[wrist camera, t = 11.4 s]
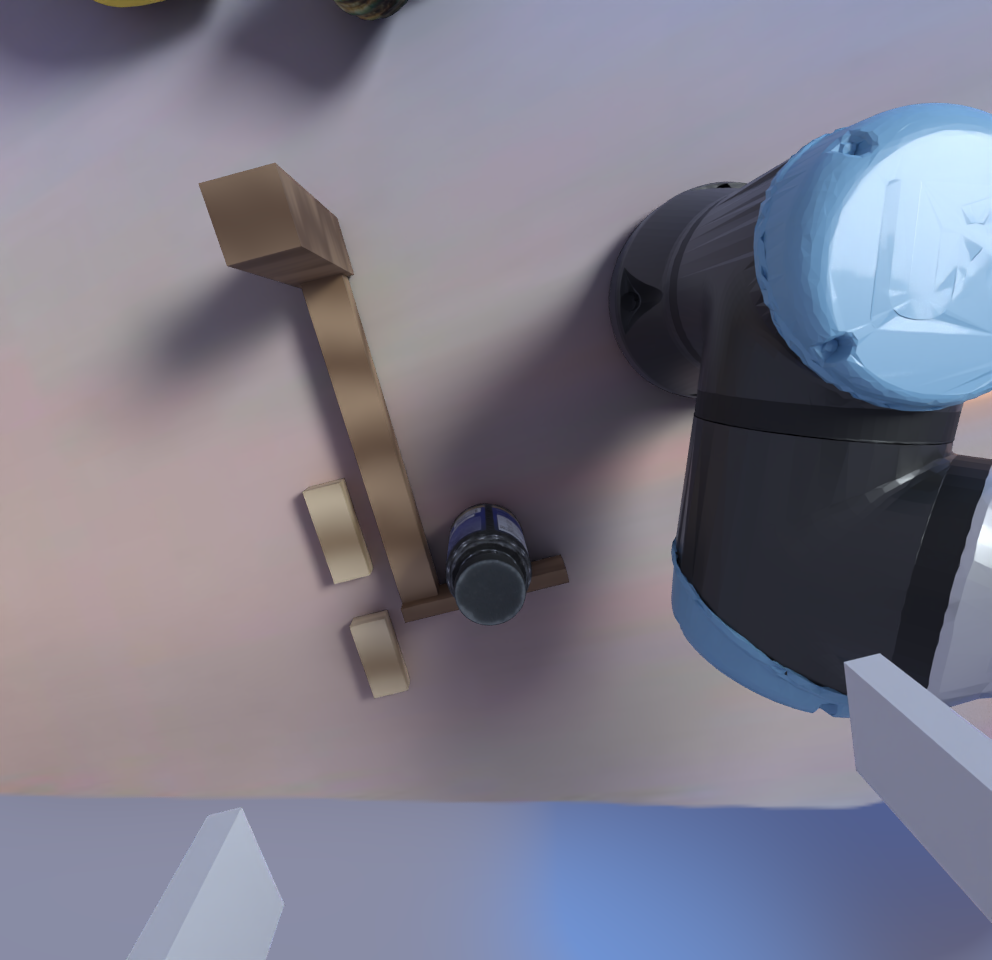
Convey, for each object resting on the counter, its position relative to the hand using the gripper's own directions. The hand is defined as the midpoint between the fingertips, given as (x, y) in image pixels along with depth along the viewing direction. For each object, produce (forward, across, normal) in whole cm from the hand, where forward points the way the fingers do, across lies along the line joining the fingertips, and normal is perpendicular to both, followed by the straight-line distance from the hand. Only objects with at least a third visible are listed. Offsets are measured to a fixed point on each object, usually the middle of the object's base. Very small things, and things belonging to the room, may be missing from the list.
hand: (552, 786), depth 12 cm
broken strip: (+35, -14, -9) cm, 38 cm away
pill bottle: (+35, -2, -6) cm, 36 cm away
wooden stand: (+34, -4, +5) cm, 35 cm away
